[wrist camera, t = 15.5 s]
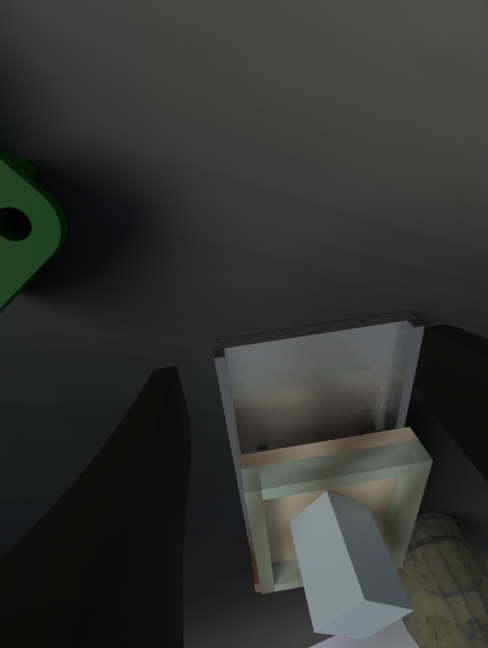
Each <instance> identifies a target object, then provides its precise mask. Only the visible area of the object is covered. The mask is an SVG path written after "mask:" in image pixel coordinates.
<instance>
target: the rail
mask: <svg viewBox="0 0 488 648" xmlns="http://www.w3.org/2000/svg"><path fill="white" fill-rule="evenodd" d="M424 327H425V326H424V325H423V324H422V323H421V322H420V321H419V320H417V319H416V318H415V317H414V316H413V315H412V314H411V313H410V312H408V311H404V312H398V313H391V314H385V315H378V316H371V317H365V318H358V319H352V320H345V321H338V322H332V323H325V324H319V325H312V326H305V327H299V328H292V329H286V330H279V331H273V332H266V333H259V334H253V335H246V336H240V337H233V338H226V339H220V340H213V345H214V359H215V364H216V370H217V375H218V380H219V386H220V391H221V396H222V402H223V407H224V412H225V417H226V423H227V428H228V433H229V439H230V444H231V449H232V455H233V460H234V465H235V470H236V476H237V481H238V486H239V492H240V497H241V502H242V508H243V513H244V518H245V523H246V529H247V534H248V539H249V545H250V551H251V559H252V568H253V576H254V584H255V589H256V592H260V591H261V586H260V580H259V575H258V569H257V563H256V558H255V552H254V546H253V541H252V535H251V530H250V524H249V518H248V513H247V507H246V501H245V496H244V489H243V481H242V472H241V464H240V456H239V455H245V454H251V453H254V450H259V449H265V448H269V450H275V449H281V448H287V447H293V446H299V445H305V444H311V443H317V442H323V441H329V440H335V439H341V438H347V437H353V436H359V435H364V432H367V431H373V430H379V429H380V430H382V431H389V430H395V429H400V428H404V425H405V420H406V416H407V411H408V406H409V401H410V396H411V391H412V386H413V381H414V376H415V371H416V367H417V362H418V357H419V352H420V347H421V342H422V337H423V332H424Z"/></svg>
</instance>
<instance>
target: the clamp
mask: <svg viewBox="0 0 488 648" xmlns="http://www.w3.org/2000/svg"><path fill="white" fill-rule="evenodd" d="M37 171H38V170H37V169H36V168H35V167H34V166H33V165H32V164H31V163H30V162H29V161H28V160H26V159H23V158H20V157H17V156H14V155H11V154H8V153H5V152H3V151H0V313H1V312H2V311H3V310H4V309H5V308H6V307H7V306H8V305H9V304H10V303H11V302H12V301H13V300H14V299H15V298H16V297H17V296H18V295H19V294H20V293H21V292H22V291H23V290H24V288H25V287H26V286H27V285H28V284H29V283H30V282H31V281H32V280H33V279H34V278H35V274H36V273H37V272H38V271H39V270H40V269H41V268H42V267H43V266H44V265H45V264H46V263H47V262H48V261H49V260H50V259H51V257H52V256H53V255H54V254H55V253H56V252H57V251H58V250H59V249H60V248H61V247H62V245H63V244H64V242H65V240H66V237H67V230H68V226H67V220H66V216H65V214H64V211H63V209H62V208H61V206H60V205H59V203H58V202H57V201H56V200H55V199H54V198H53V197H52V196H51V195H50V194H49V193H48V192H47V191H46V190H44V189H43V188H42V187H41V186H40V185H39V184H38V183H36V182H35V181H34V180H33V179H32V177H33V176H34V175H35V174H36V172H37ZM12 208H17V209H19V210H21V211H22V212H24V213H25V214H26V215H27V216H28V218H29V219H30V221H31V225H32V230H31V233H30V235H29V236H28V237H23V236H20V235H18V234H16V233H15V232H13V231H12V230H11V229H10V227H9V225H8V223H7V215H8V212H9V211H10V210H11V209H12Z"/></svg>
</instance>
